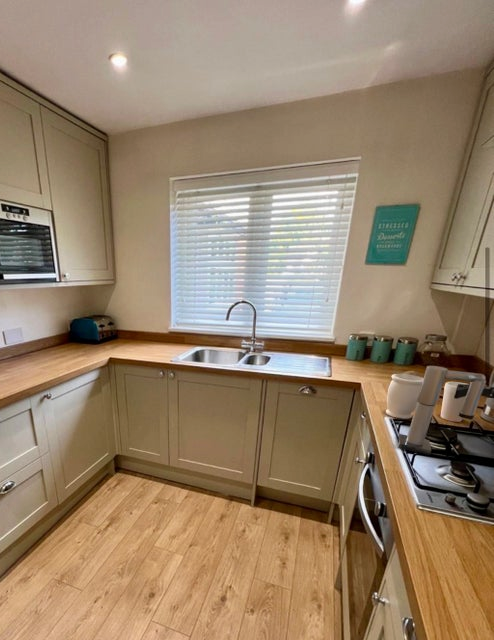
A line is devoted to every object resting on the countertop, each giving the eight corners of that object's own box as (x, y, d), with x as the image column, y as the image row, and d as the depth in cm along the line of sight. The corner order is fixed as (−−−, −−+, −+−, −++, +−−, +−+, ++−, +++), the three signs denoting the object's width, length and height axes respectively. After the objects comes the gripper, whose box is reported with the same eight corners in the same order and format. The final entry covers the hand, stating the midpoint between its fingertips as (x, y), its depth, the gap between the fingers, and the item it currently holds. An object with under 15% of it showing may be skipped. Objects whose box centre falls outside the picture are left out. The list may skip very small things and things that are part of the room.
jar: (385, 417, 123) (395, 379, 118) (379, 408, 132) (389, 372, 127) (418, 422, 120) (430, 383, 114) (410, 412, 129) (420, 375, 124)
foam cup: (439, 411, 130) (450, 380, 126) (469, 419, 124) (481, 386, 119) (432, 417, 124) (442, 384, 120) (462, 425, 118) (475, 391, 113)
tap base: (427, 444, 104) (441, 402, 99) (429, 455, 97) (444, 410, 92) (398, 437, 107) (410, 397, 102) (398, 447, 101) (410, 404, 96)
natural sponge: (419, 391, 154) (425, 370, 150) (420, 396, 147) (426, 375, 143) (397, 387, 159) (402, 367, 155) (396, 392, 152) (402, 371, 148)
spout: (470, 415, 96) (486, 371, 91) (476, 421, 91) (492, 375, 87) (413, 406, 101) (425, 365, 96) (416, 411, 97) (429, 368, 92)
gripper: (565, 416, 96) (536, 430, 86) (465, 390, 116) (432, 399, 107) (577, 392, 93) (548, 403, 84) (472, 370, 114) (439, 377, 104)
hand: (483, 401), depth 95 cm, fingers open, 13 cm apart
